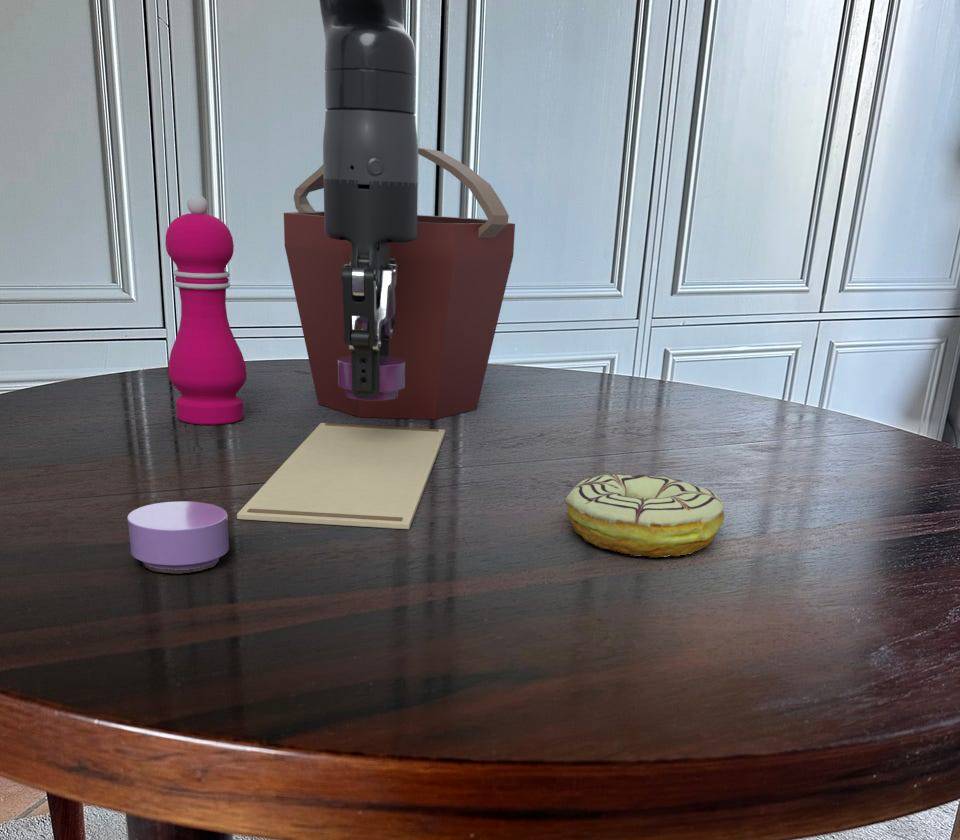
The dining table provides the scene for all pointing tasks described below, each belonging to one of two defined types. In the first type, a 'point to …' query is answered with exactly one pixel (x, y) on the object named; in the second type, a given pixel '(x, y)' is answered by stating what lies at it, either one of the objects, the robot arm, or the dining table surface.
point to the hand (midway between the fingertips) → (371, 388)
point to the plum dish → (389, 377)
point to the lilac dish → (178, 534)
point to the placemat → (350, 477)
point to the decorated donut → (644, 514)
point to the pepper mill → (204, 320)
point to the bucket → (409, 300)
